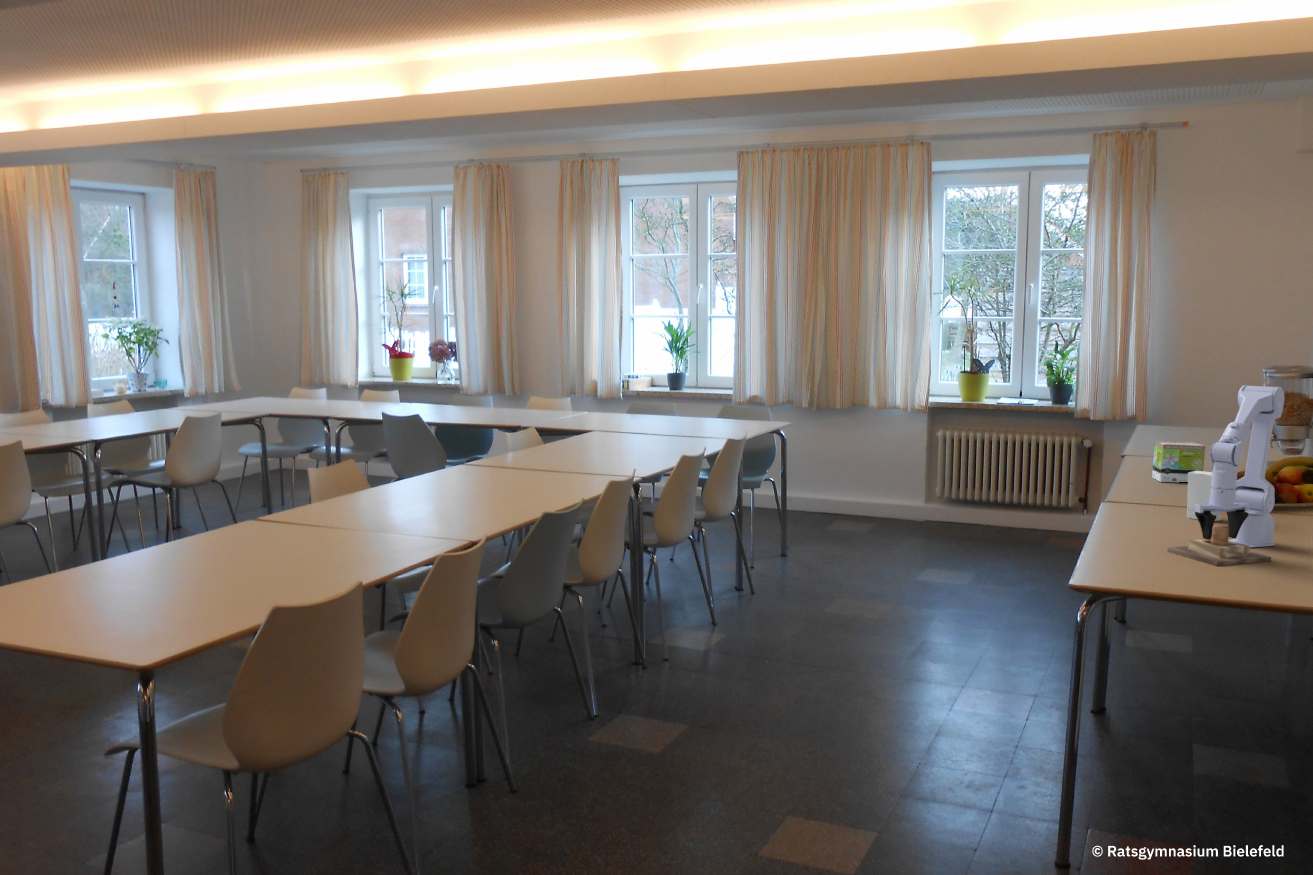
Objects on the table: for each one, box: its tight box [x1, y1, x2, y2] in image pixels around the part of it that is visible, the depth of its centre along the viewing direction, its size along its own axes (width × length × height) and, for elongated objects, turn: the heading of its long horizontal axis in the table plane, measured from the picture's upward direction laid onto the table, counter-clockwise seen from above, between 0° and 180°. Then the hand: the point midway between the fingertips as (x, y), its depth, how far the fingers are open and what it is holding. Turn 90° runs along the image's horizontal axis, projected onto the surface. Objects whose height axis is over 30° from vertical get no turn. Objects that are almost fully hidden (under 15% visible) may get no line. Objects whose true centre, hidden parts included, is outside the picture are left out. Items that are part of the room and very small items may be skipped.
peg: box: [1211, 524, 1230, 546], centre depth 264 cm, size 4×4×7 cm
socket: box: [1167, 538, 1272, 567], centre depth 265 cm, size 18×16×4 cm
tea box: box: [1151, 440, 1206, 483], centre depth 378 cm, size 15×10×15 cm
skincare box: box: [1186, 470, 1223, 522], centre depth 310 cm, size 8×6×15 cm
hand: (1219, 538), depth 264 cm, fingers open, 7 cm apart
